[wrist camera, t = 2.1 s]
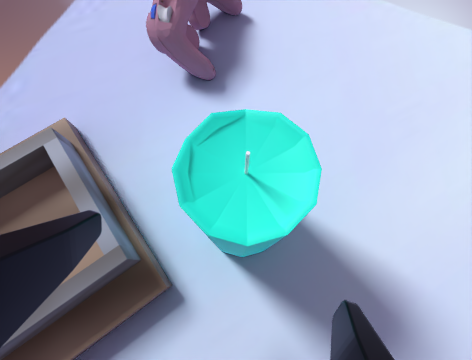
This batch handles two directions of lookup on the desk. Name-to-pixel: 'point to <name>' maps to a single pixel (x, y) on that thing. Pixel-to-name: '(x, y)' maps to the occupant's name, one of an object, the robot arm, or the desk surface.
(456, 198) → the desk surface
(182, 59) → the video game controller
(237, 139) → the candle
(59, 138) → the holder base
